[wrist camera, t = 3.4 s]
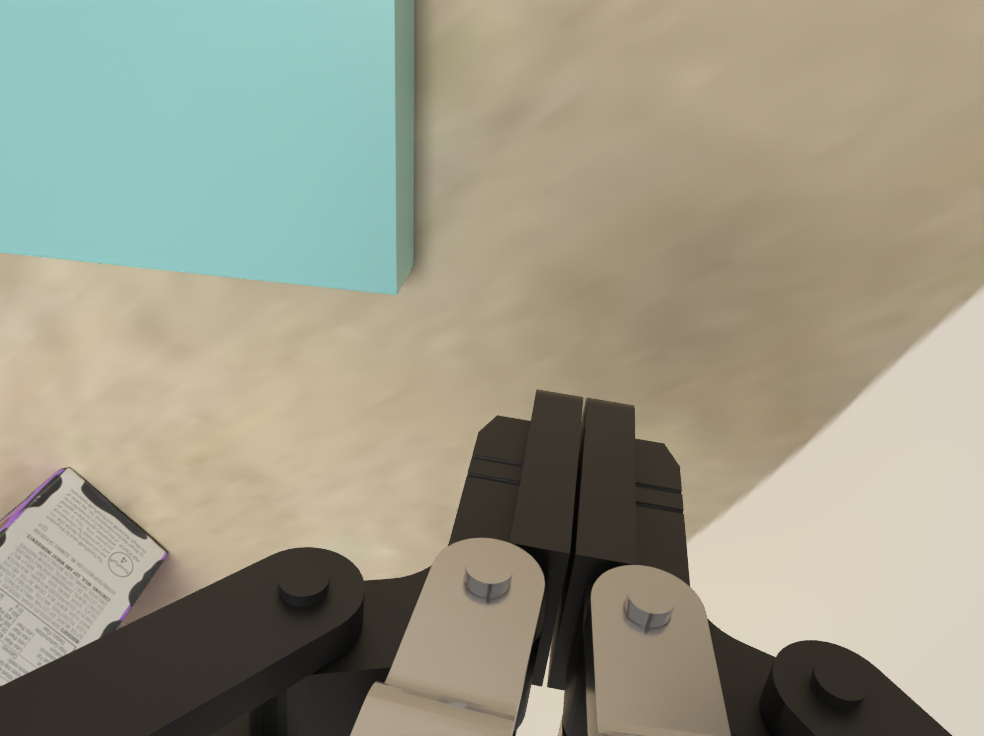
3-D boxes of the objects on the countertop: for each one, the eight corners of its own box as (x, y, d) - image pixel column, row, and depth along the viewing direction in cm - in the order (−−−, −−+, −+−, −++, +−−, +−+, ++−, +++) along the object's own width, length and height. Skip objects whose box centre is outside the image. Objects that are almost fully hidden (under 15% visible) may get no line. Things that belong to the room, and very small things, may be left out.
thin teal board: (418, -39, 24) (391, -28, 22) (416, 259, 29) (394, 299, 26) (-110, -76, 26) (-195, -69, 23) (-33, 213, 31) (-97, 246, 28)
